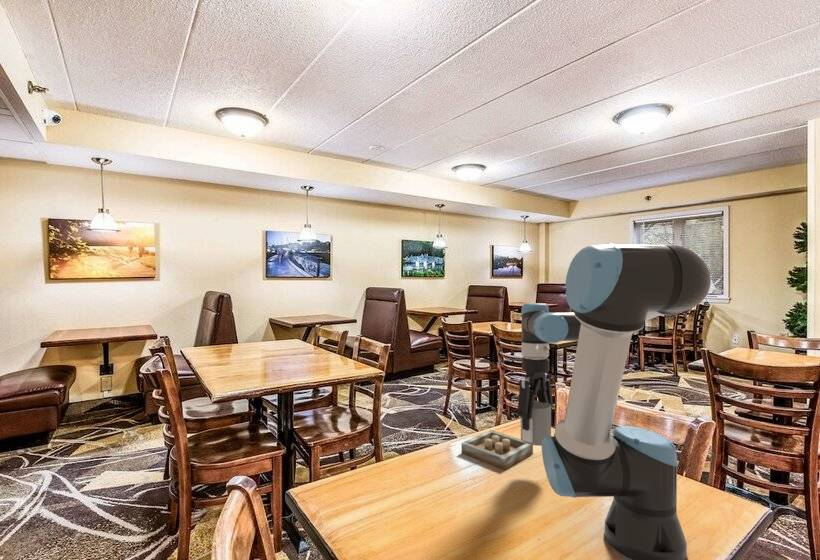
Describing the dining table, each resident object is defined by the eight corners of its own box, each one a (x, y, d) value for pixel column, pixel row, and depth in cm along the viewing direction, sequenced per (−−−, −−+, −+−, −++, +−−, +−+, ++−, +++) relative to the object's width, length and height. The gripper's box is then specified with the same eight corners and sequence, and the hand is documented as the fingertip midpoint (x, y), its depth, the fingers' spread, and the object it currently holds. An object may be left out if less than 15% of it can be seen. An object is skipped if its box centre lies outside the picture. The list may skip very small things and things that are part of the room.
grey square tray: (504, 469, 121) (504, 455, 121) (461, 453, 133) (461, 439, 133) (532, 453, 132) (532, 440, 132) (490, 439, 144) (490, 427, 144)
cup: (547, 435, 123) (547, 401, 123) (554, 446, 114) (554, 409, 115) (518, 434, 123) (518, 400, 124) (523, 445, 115) (523, 408, 115)
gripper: (527, 363, 109) (528, 450, 109) (565, 354, 124) (565, 431, 124) (503, 360, 115) (503, 443, 114) (541, 351, 129) (542, 425, 129)
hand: (536, 436), depth 119 cm, fingers closed on cup, 8 cm apart
